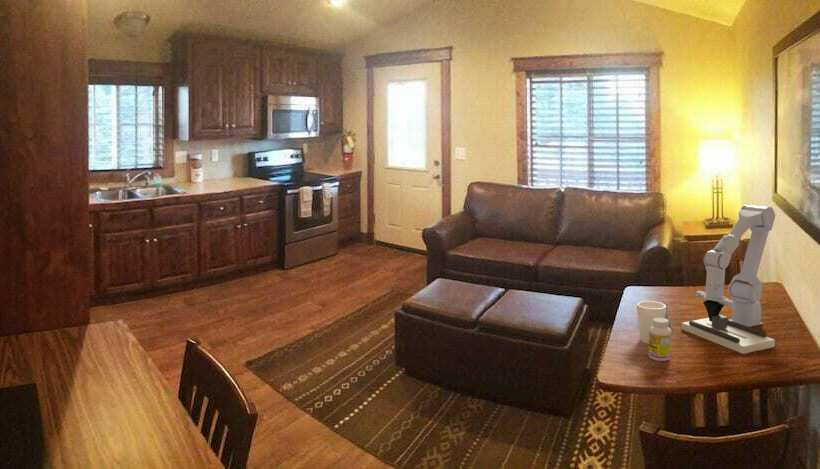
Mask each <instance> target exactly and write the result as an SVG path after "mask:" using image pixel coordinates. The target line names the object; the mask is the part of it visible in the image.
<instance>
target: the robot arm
mask: <svg viewBox="0 0 820 469" xmlns="http://www.w3.org/2000/svg"><path fill="white" fill-rule="evenodd" d="M775 218H776V213H775V210H774V208H773V207H771V206H760V205H750V204H747V203H746V204H743V205H742V206H741V208H740V210H739V211H738V219H737V221H736V223H735V224H734V225H733V228H732V229H731V230H730V232H729V234H726V235H723V236H722V237H721V238H720V240H719V241H718V243H717V244H716V245H715V246H714V248H712V249H710V250H708V251H707V252H706V253H705V254H704V257H703V263H704V269H705V271H706V278H705V291H704V290H703V291H702V290H698V291H695V297H696V298H702V299H704V300H705V301H703V303H702V304H703V306H704V307H705V309H706V312H707V315H708V318H709V321H711V322H712V316H716V315H720V314H721V311H722V310H723V308H724V307H725V306H726V307H727V308H732V310H731V311H732V312H731V319H729V320H730V321H733V322H736V323H739V324H742V325H745V326H747V327H750V328H752V327H754V326H759V325H763V322H761V320H762V319H761V318H762V303H761V302H760V300H761V298H762V294H763V291H762V290H763V282H762V281H761V280H760V279H759V277H757V276H758V271H759V270H760V265H761V262H762V258H763V255H764V254H763V253H764V251H765V248H766V244H767V241H768V240H767V239H768V236H769V234H770V231H772V230H773V226H774V223H775ZM749 229H750V232H751V234H750V238H749V241H748V245H747V249H746V252H745V256H744V259H743V263H742V267H741V269H740V270H741V271H740V273H738V274H736V275H734V276H733V277H732V279H731V282H729V285H728V287H727V293H728V295H729V296H730V299H729V298H727V297H726V296H724V293H725V277H726V268H727V267H728V266H729V265H730V261H731V258H732V254H733V253H734V252H735V251H736V250H737V248H738V247H739V246H740V241H739V240H740V239H741V237H742V236H743V235H744V234H746V232H747V231H749Z"/></svg>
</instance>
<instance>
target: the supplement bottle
mask: <svg viewBox="0 0 820 469" xmlns="http://www.w3.org/2000/svg"><path fill="white" fill-rule="evenodd" d="M653 324H654V325H653V326H651V327H650V329H649V344H648V358H650V359H651V360H653V361H658V362H666V361H669V360H670V359H671V354H672V334H673V331H671V329H670V328H669V327H668V325H669V320H668V319H665V318H654V319H653Z"/></svg>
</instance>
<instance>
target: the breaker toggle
mask: <svg viewBox="0 0 820 469" xmlns="http://www.w3.org/2000/svg"><path fill="white" fill-rule="evenodd" d="M728 320H729V317H728V316H726V315H723V314H719V315H716V316H712V327H713V328H715V329H718V330H719V329H724V328H727V323H728Z"/></svg>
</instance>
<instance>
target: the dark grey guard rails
mask: <svg viewBox="0 0 820 469" xmlns="http://www.w3.org/2000/svg"><path fill="white" fill-rule="evenodd" d="M730 320H731V319H728V323H727V324H728V325H731V326H734V327H737V328H739V329H742V330H745V331H748V332H751V333H753V334H756V335H759V336H762V337H768V333H767V332H765V331H762V330H759V329H756V328H753V327H747V326H745V325H742V324H739V323H736V322H733V321H730ZM688 322H689V325H692V326H694V327H697V328H699V329H702V330H705V331H707V332H710V333H712V334H715V335H718V336H720V337H723V338H726V339H728V340H731V341H733V342H736V343H739V342H740V339H739V338H736V337H734V336H731V335H728V334H726V333H723V332H720V331H718V330H715V329H712V328H710V327H707V326H704V325H702V324H699V323H696V322H694V320H689V321H688Z"/></svg>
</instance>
